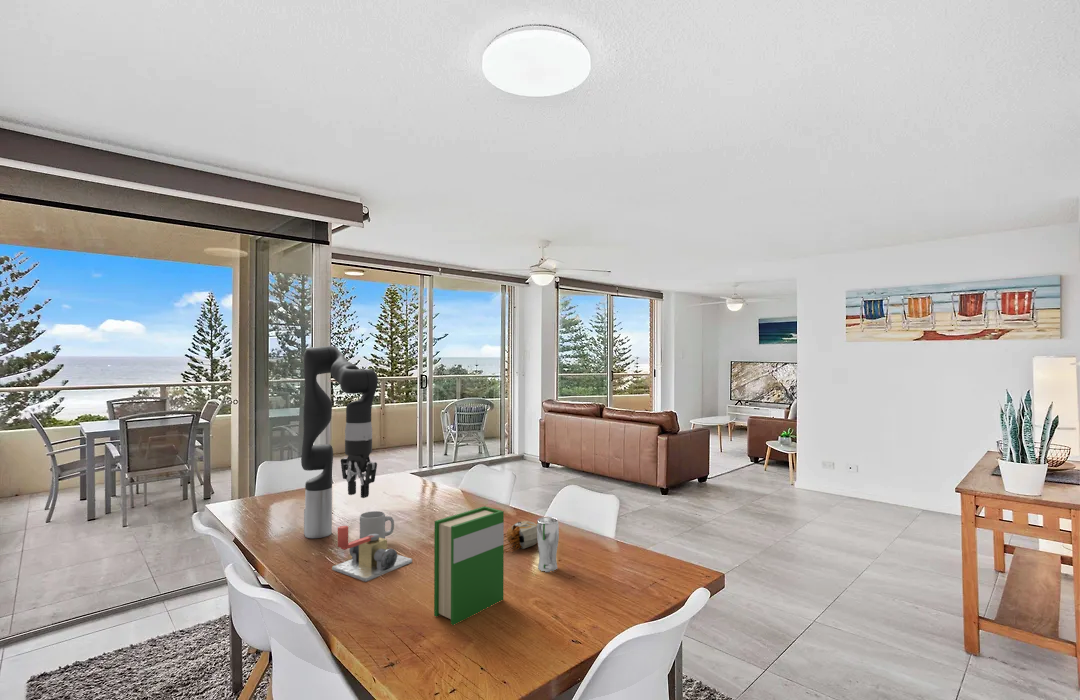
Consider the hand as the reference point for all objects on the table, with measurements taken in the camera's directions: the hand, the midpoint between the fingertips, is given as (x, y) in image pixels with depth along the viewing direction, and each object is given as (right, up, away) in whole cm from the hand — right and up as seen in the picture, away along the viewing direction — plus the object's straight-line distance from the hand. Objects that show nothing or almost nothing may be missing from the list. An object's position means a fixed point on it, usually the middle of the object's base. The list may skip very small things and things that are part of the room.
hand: (358, 495), depth 153 cm
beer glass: (+55, -26, +11) cm, 62 cm away
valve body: (0, -26, +13) cm, 29 cm away
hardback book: (+35, -25, -15) cm, 46 cm away
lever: (-3, -17, +8) cm, 19 cm away
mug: (-4, -26, +31) cm, 41 cm away
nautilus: (+45, -26, +30) cm, 60 cm away
